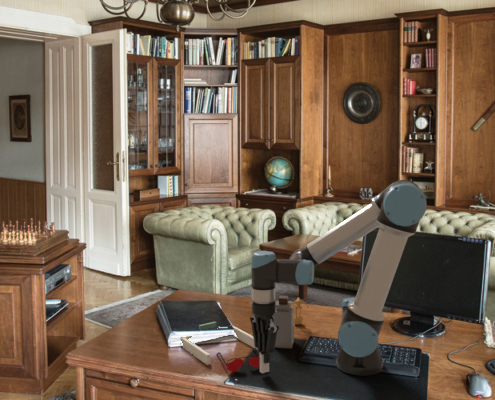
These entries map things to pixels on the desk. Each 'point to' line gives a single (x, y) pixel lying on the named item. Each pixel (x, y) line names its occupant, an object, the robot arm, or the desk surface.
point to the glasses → (241, 362)
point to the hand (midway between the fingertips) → (264, 371)
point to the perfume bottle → (284, 323)
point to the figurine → (298, 318)
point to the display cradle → (205, 356)
